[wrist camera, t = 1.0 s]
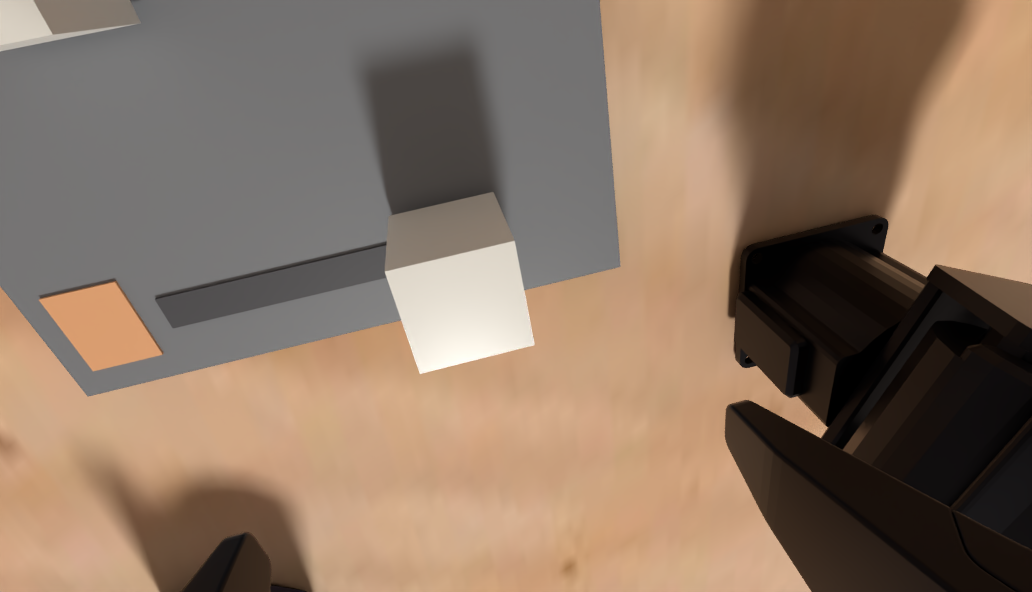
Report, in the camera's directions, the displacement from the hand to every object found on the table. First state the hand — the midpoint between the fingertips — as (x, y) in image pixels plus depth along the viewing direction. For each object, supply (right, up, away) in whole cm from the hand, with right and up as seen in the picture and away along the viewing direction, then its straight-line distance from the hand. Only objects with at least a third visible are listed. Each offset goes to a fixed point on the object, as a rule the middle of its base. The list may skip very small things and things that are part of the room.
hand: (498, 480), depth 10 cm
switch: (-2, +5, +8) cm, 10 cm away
